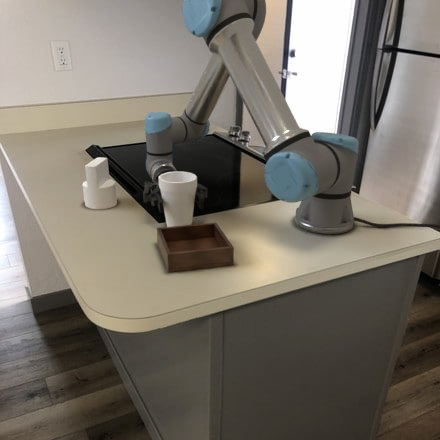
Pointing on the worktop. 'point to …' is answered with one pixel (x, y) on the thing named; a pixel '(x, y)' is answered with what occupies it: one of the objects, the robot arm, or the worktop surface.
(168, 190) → the foam cup
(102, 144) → the worktop surface
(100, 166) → the base with upright slab
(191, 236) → the caddy
